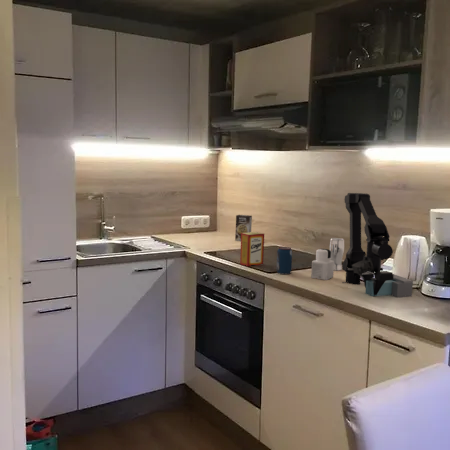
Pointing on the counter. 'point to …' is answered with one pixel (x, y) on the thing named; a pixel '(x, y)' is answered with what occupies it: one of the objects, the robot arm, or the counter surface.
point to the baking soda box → (252, 248)
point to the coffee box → (242, 225)
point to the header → (401, 287)
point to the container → (322, 265)
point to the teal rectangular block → (384, 290)
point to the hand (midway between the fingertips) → (371, 293)
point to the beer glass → (337, 252)
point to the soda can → (284, 260)
